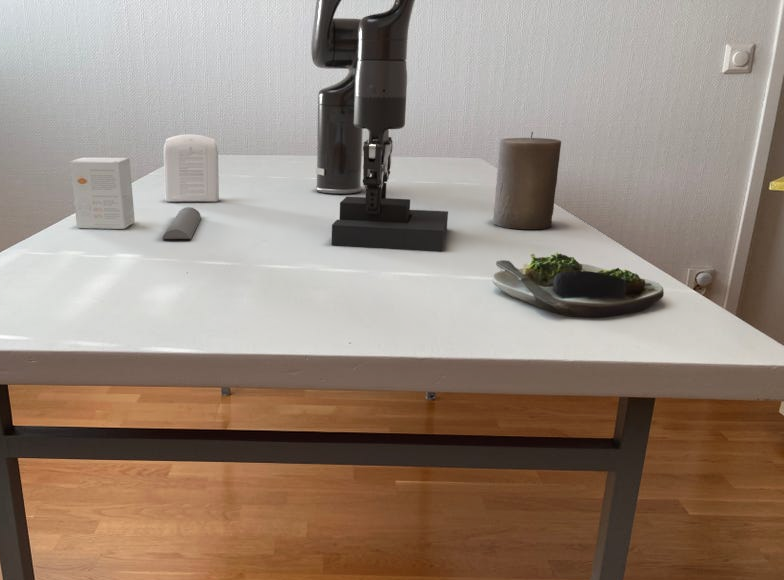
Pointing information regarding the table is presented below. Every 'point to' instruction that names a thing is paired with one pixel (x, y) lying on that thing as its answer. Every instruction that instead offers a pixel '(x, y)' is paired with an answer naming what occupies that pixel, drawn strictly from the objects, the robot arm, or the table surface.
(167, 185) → the white arched block
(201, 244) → the table surface
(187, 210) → the half round rod
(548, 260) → the salad plate
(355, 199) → the pad piece
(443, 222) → the slotted rectangular block
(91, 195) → the small box
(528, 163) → the pillar candle
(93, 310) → the table surface
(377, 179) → the robot arm
